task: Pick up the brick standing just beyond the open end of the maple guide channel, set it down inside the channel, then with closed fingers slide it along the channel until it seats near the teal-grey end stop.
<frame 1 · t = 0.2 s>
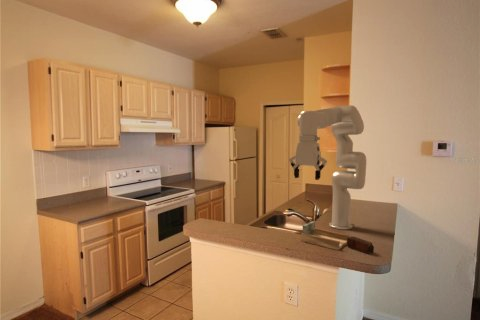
hand: (306, 178, 128), 31 cm above the countertop, fingers open, 9 cm apart
rail board: (324, 241, 138), on the countertop
brick: (359, 250, 128), on the countertop
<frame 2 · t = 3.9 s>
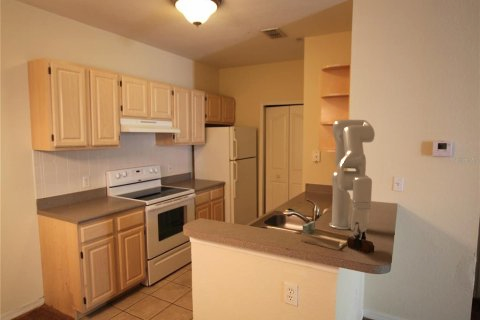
hand: (359, 245, 128), 2 cm above the countertop, fingers closed on brick, 4 cm apart
brick: (360, 250, 128), on the countertop, touching gripper
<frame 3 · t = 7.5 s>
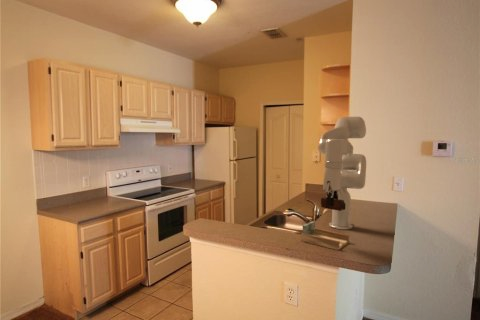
hand: (332, 204, 135), 18 cm above the countertop, fingers closed on brick, 4 cm apart
brick: (332, 209, 135), point 16 cm above the countertop, touching gripper
when the fingers open (4 cm above the countertop, at t = 10.6 s): brick drops 1 cm, resting on rail board.
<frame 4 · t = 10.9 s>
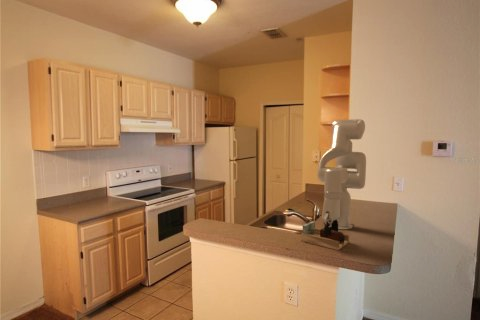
hand: (331, 232, 136), 5 cm above the countertop, fingers open, 7 cm apart
brick: (331, 241, 136), point 1 cm above the countertop, touching rail board
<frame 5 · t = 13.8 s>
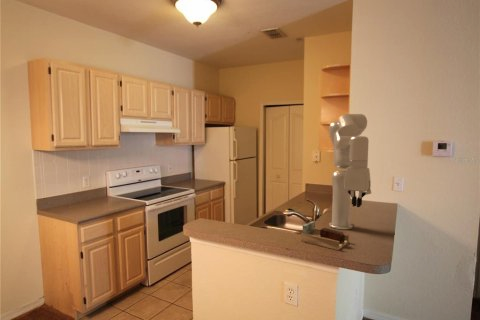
hand: (356, 206, 128), 19 cm above the countertop, fingers closed
nothing on the countertop moved.
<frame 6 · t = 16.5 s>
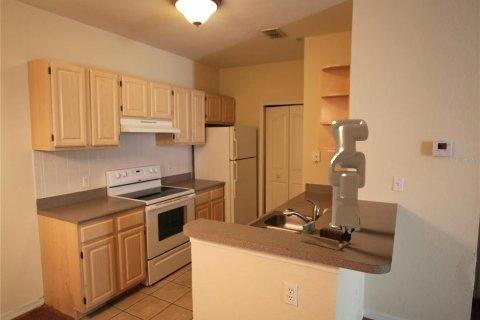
hand: (347, 241, 131), 3 cm above the countertop, fingers closed
brick: (331, 240, 137), point 1 cm above the countertop, touching gripper, rail board
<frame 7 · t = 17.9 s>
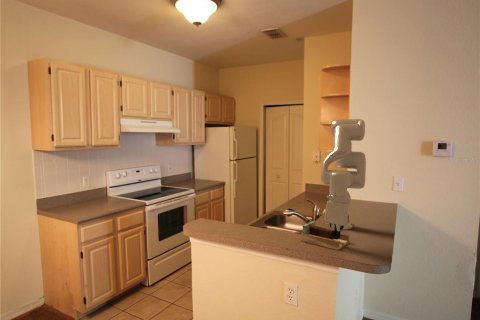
hand: (336, 238, 134), 3 cm above the countertop, fingers closed
brick: (321, 238, 140), point 1 cm above the countertop, touching gripper, rail board
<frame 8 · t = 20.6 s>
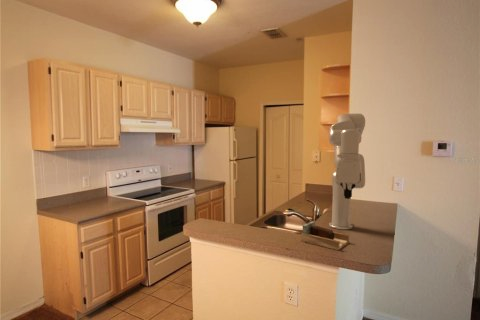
hand: (347, 198, 131), 22 cm above the countertop, fingers closed
brick: (322, 238, 140), point 1 cm above the countertop, touching rail board
at the end: brick inside the target area on the rail board (1.2 cm from its centre), point 1.0 cm above the rail board's base; brick moved 17.9 cm from its start; the gripper is holding nothing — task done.
